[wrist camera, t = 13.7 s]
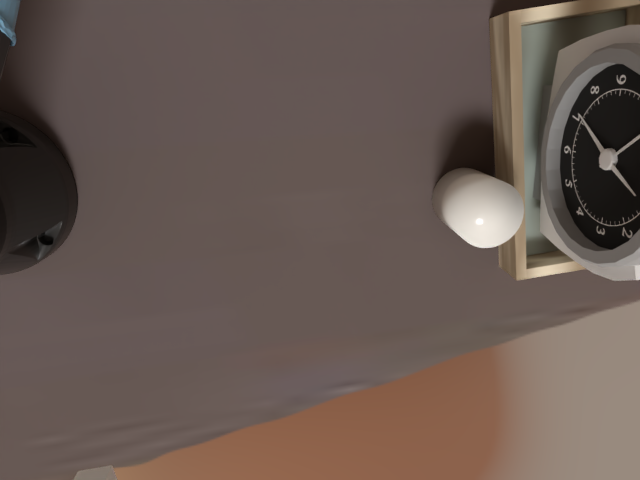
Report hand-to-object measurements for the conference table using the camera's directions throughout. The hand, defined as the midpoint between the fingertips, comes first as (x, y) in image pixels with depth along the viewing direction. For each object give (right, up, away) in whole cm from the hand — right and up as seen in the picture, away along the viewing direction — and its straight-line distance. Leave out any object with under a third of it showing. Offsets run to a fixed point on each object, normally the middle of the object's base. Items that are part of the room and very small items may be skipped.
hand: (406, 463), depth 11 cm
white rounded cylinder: (+12, +9, +36) cm, 40 cm away
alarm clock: (+21, +15, +35) cm, 43 cm away
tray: (+21, +15, +35) cm, 44 cm away
